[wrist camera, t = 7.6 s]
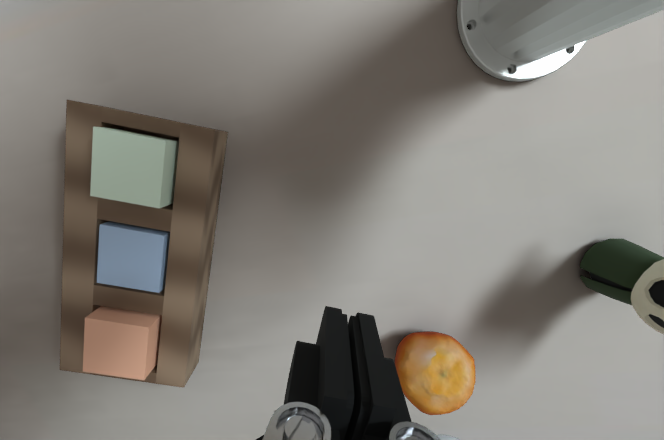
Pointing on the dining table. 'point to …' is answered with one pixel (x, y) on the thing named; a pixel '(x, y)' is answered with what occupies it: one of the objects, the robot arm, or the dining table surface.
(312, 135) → the dining table surface
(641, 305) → the character mug
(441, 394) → the fruit
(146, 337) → the terracotta key
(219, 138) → the key panel
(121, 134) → the sage key
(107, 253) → the slate key
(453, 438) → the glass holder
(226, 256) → the dining table surface
